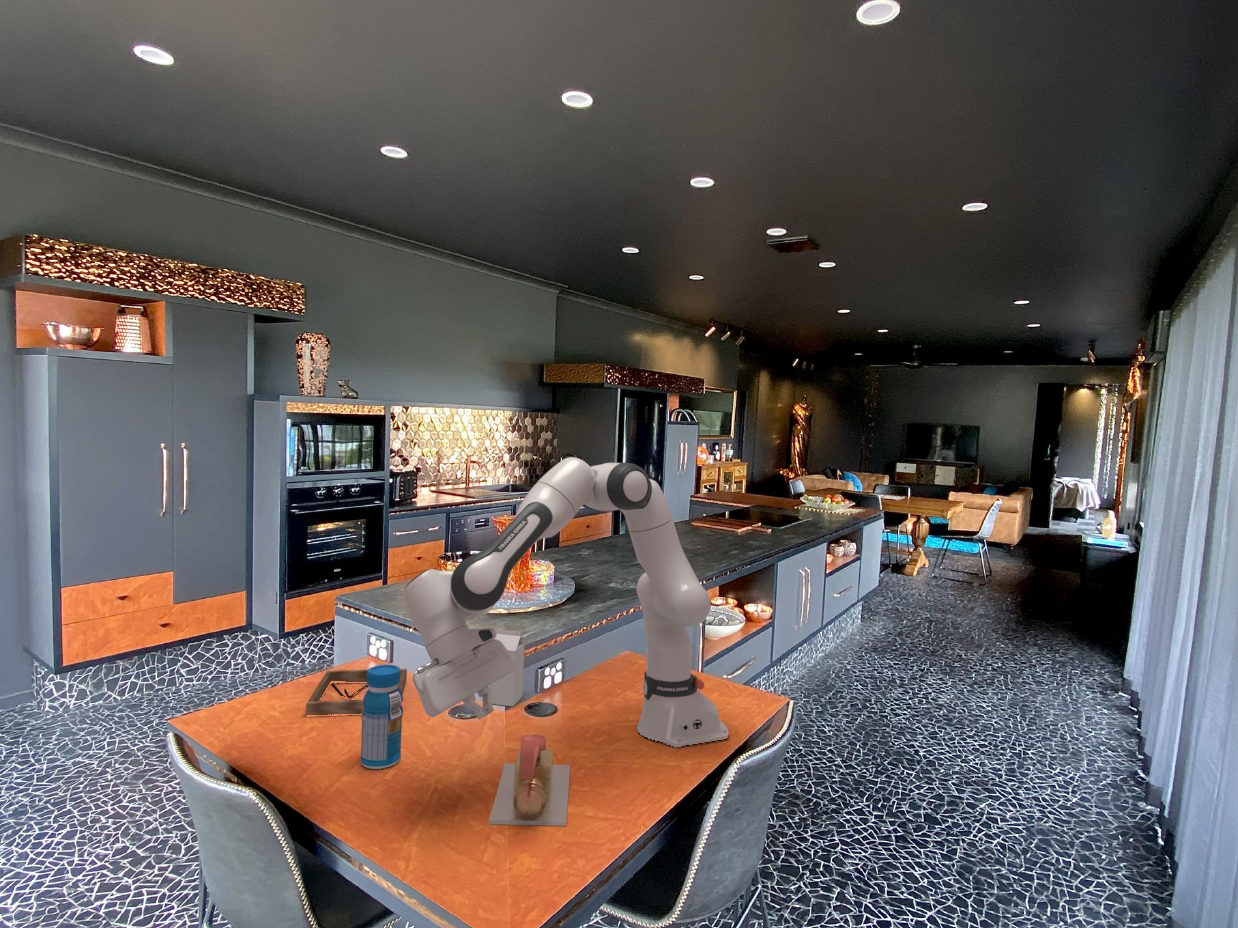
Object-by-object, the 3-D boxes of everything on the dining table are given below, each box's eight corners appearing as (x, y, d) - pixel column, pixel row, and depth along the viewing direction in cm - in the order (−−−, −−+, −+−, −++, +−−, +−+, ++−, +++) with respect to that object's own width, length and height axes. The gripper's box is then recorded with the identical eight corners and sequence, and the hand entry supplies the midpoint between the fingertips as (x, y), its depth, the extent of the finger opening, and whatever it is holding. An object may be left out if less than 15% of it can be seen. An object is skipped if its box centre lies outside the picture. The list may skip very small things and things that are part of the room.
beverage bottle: (360, 773, 140) (364, 677, 139) (358, 755, 147) (361, 664, 147) (403, 767, 143) (406, 673, 143) (399, 750, 151) (402, 661, 150)
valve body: (504, 767, 145) (506, 725, 145) (570, 768, 146) (571, 726, 145) (489, 824, 123) (490, 774, 123) (566, 825, 124) (568, 776, 123)
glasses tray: (406, 680, 194) (406, 668, 194) (397, 713, 171) (397, 700, 171) (326, 682, 190) (327, 670, 190) (306, 717, 166) (306, 703, 166)
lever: (525, 741, 136) (526, 707, 136) (547, 742, 136) (548, 708, 136) (513, 779, 121) (514, 740, 121) (537, 780, 121) (539, 741, 121)
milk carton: (513, 707, 178) (516, 635, 178) (488, 704, 180) (490, 633, 179) (522, 697, 185) (525, 628, 185) (498, 694, 187) (500, 626, 186)
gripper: (416, 666, 121) (452, 737, 118) (499, 625, 137) (532, 687, 135) (401, 677, 125) (434, 746, 122) (483, 636, 141) (515, 697, 138)
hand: (486, 715), depth 128 cm, fingers closed
